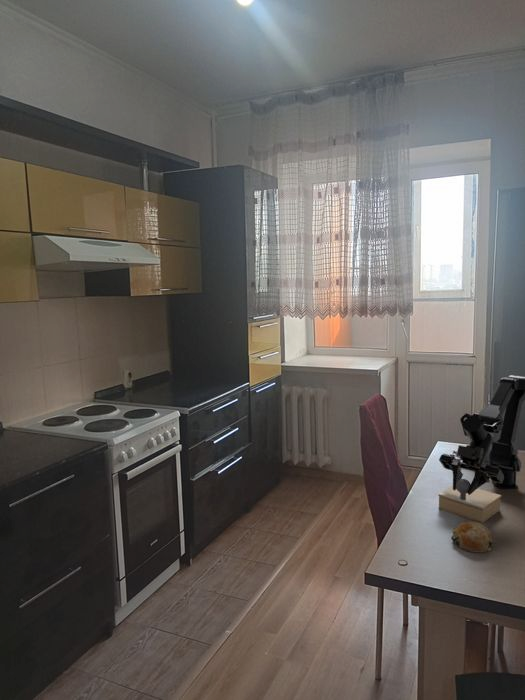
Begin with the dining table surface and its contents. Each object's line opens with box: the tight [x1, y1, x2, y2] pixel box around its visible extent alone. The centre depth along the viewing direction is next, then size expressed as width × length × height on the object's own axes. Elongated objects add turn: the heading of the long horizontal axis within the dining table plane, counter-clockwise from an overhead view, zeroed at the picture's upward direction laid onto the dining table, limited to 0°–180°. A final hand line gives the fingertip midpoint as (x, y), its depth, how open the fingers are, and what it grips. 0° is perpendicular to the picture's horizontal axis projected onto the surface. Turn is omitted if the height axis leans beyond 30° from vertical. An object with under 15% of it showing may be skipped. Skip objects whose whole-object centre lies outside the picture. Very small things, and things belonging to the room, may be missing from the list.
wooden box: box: [438, 496, 501, 524], centre depth 162 cm, size 12×14×4 cm
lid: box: [437, 478, 502, 510], centre depth 161 cm, size 13×14×7 cm
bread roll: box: [451, 521, 494, 554], centre depth 141 cm, size 10×10×8 cm
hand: (461, 492), depth 158 cm, fingers closed on lid, 4 cm apart
